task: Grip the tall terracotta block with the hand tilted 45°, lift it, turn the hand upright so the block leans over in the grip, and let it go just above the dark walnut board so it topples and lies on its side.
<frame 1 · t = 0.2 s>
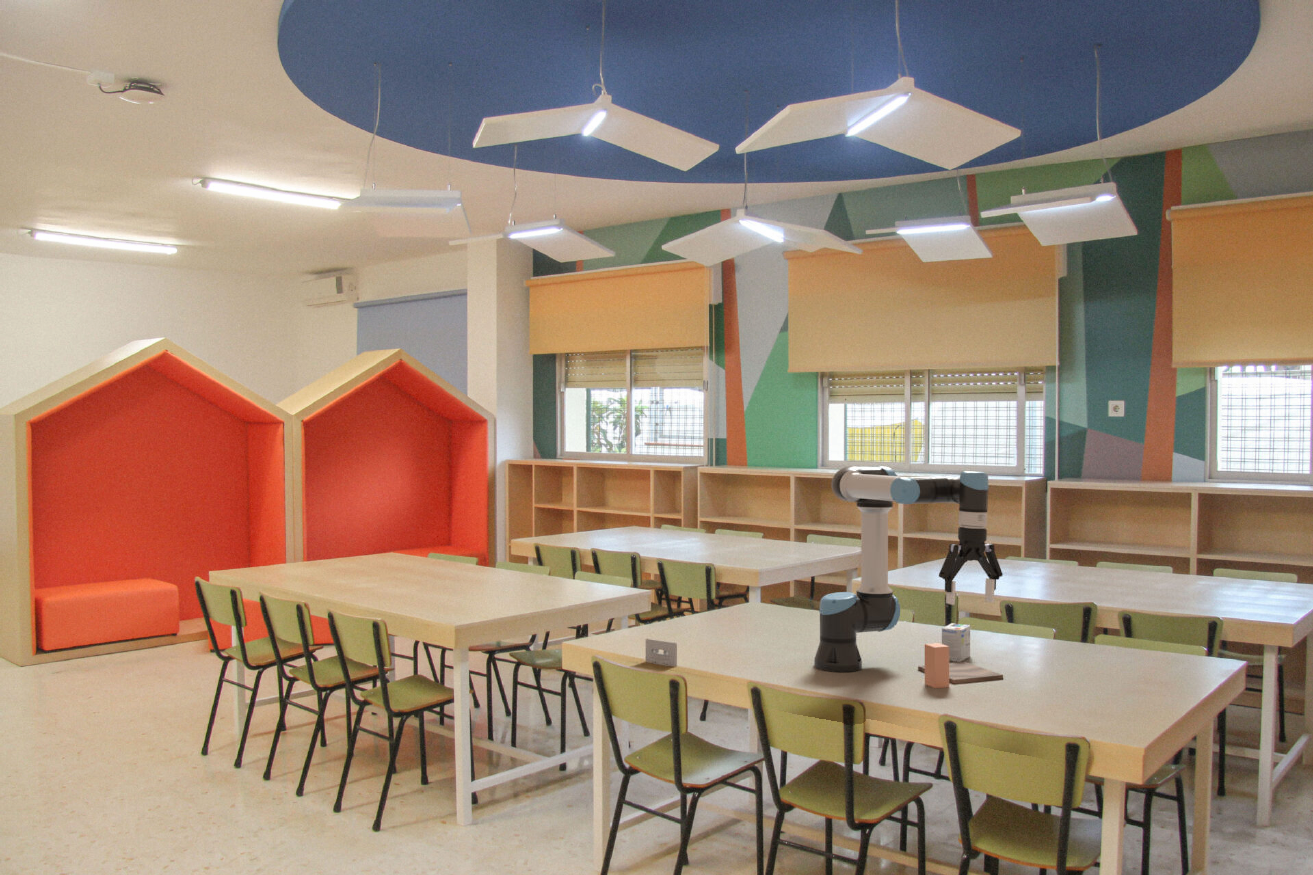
hand: (970, 603, 254), 28 cm above the table, tool pointing down, fingers open, 13 cm apart
light bulb box: (956, 658, 308), on the table
walnut board: (959, 674, 286), on the table
terracotta block: (936, 685, 272), on the table
cassette: (661, 664, 299), on the table
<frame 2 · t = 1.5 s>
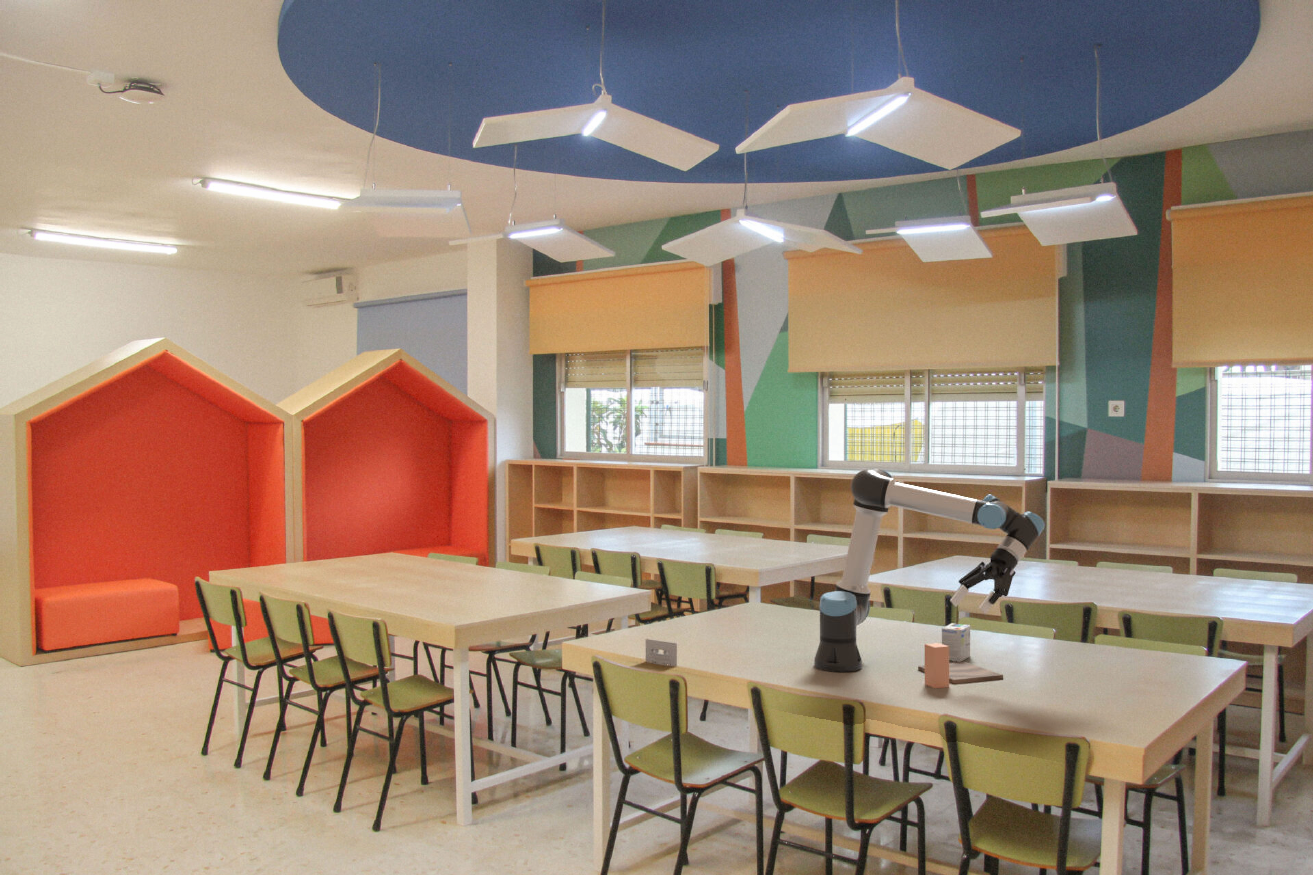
hand: (967, 607, 276), 23 cm above the table, tool tilted 45°, fingers open, 13 cm apart
nothing on the table moved.
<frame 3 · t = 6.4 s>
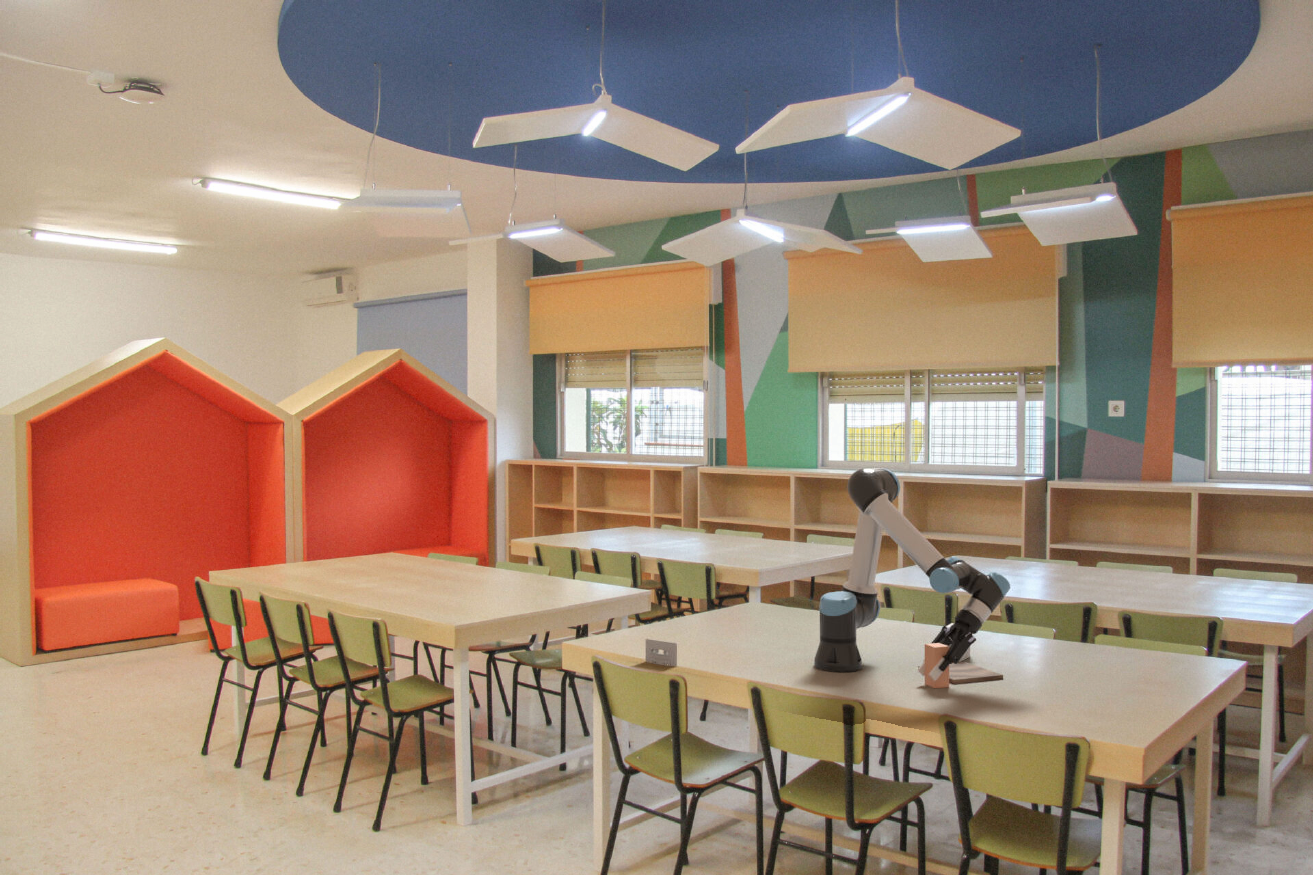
hand: (926, 675, 271), 3 cm above the table, tool tilted 45°, fingers closed on terracotta block, 5 cm apart
terracotta block: (936, 685, 272), on the table, touching gripper
everything else where it was.
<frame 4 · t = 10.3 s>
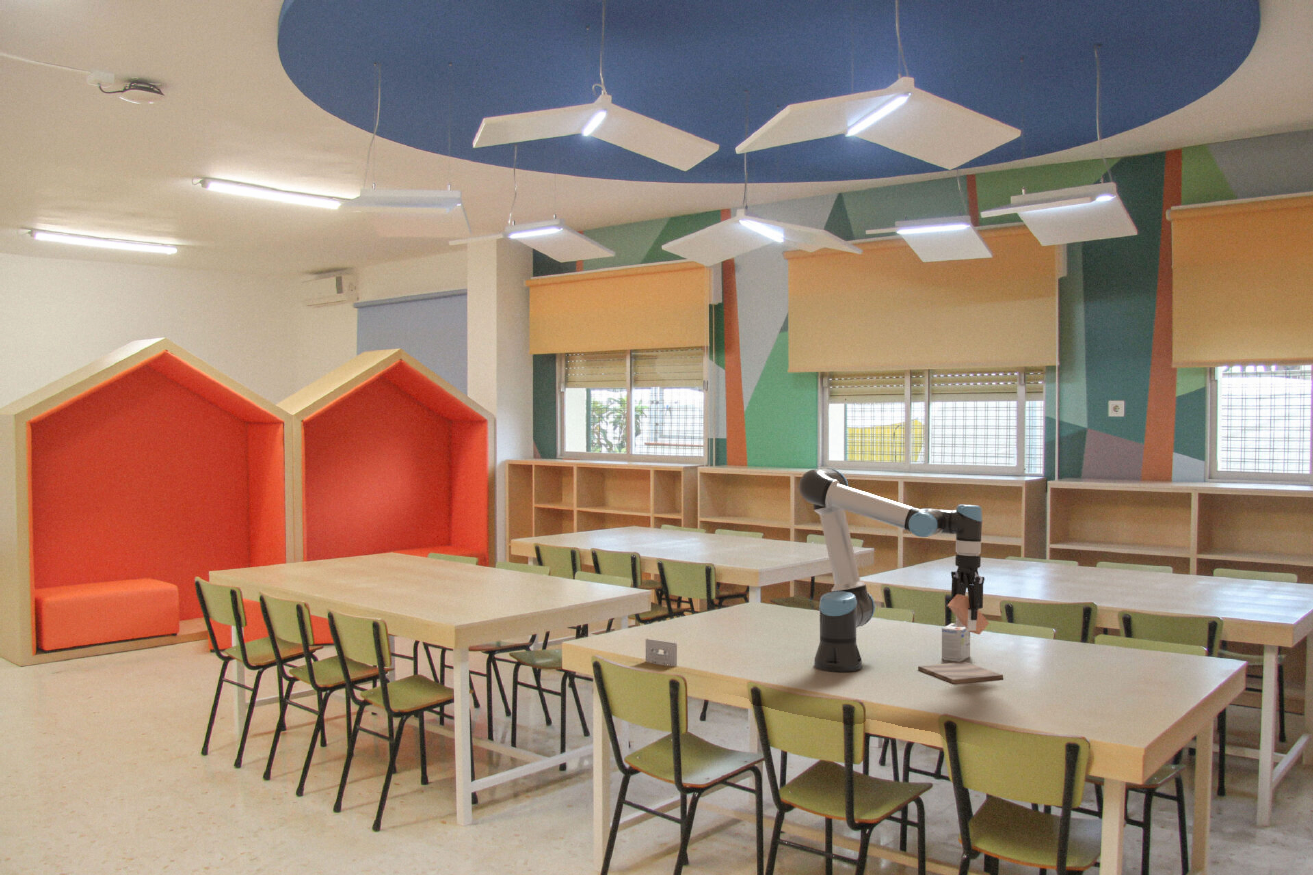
hand: (965, 628, 286), 14 cm above the table, tool pointing down, fingers closed on terracotta block, 5 cm apart
terracotta block: (979, 627, 287), point 14 cm above the table, tilted 43°, touching gripper
everything else where it was.
when the fingers open (4 cm above the table, at t = 13.9 s): terracotta block moves 2 cm and tips over, resting on walnut board.
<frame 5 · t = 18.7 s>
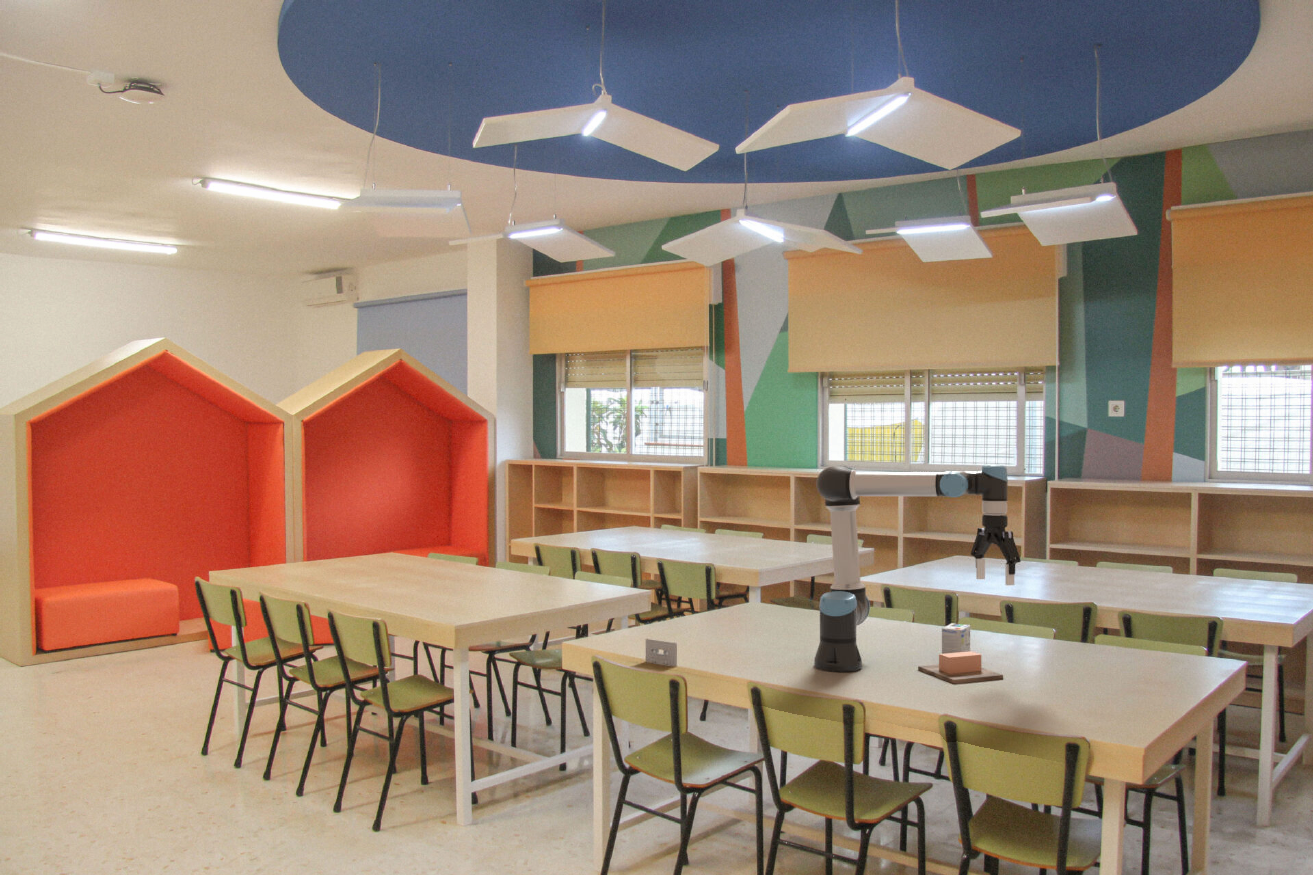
hand: (995, 582, 287), 29 cm above the table, tool pointing down, fingers open, 13 cm apart
terracotta block: (976, 660, 288), point 4 cm above the table, tilted 90°, touching walnut board
everything else where it was.
at the end: terracotta block tilted 90°; terracotta block inside the target area on the walnut board (6.0 cm from its centre), point 3.7 cm above the walnut board's base; terracotta block touching walnut board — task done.
